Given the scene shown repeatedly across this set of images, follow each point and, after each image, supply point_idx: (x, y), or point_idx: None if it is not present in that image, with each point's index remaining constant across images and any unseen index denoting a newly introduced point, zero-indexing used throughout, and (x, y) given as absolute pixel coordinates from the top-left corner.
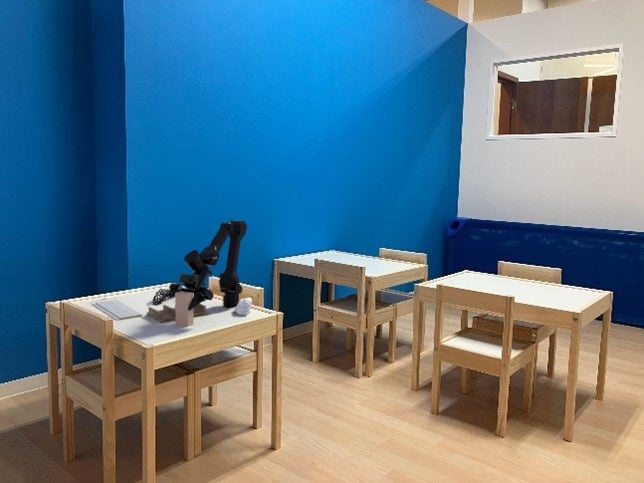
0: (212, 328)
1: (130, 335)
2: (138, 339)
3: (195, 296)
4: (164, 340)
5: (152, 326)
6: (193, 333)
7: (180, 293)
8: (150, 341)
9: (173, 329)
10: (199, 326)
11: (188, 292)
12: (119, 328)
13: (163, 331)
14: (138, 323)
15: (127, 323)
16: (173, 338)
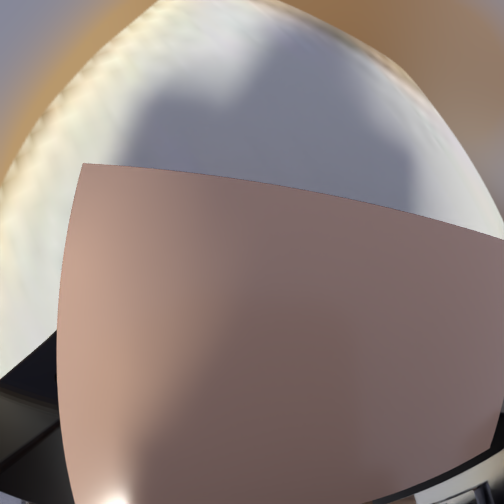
0: (3, 289)
1: (357, 54)
2: (290, 18)
3: (4, 399)
4: (172, 22)
5: (380, 192)
6: (65, 148)
7: (416, 222)
8: (225, 6)
9: (228, 172)
10: None
11: (249, 492)
12: (453, 134)
13: (263, 120)
14: (455, 221)
15: (478, 207)
16: (141, 49)
